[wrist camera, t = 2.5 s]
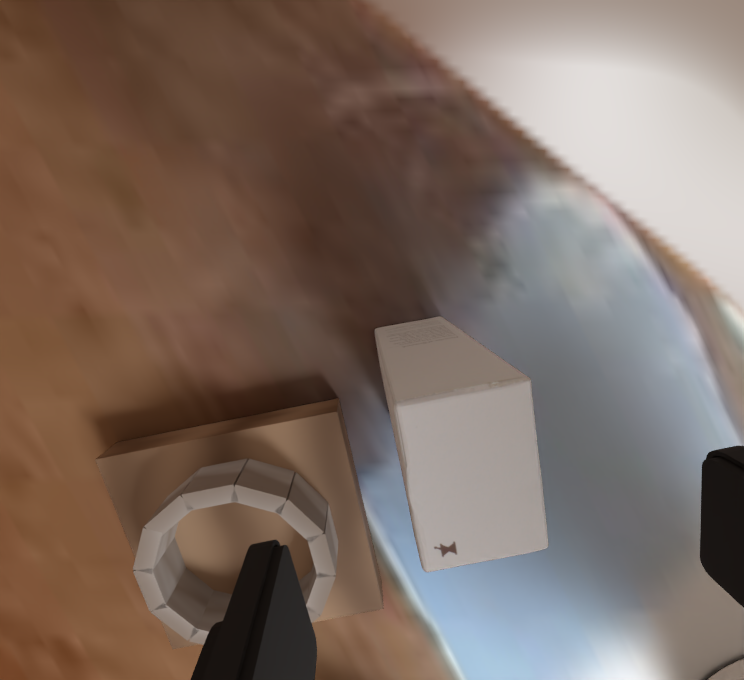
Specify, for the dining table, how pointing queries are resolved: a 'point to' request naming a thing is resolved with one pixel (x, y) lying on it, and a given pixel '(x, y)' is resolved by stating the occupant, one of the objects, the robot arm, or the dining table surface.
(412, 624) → the dining table surface
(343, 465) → the ring stand
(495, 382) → the skincare box
